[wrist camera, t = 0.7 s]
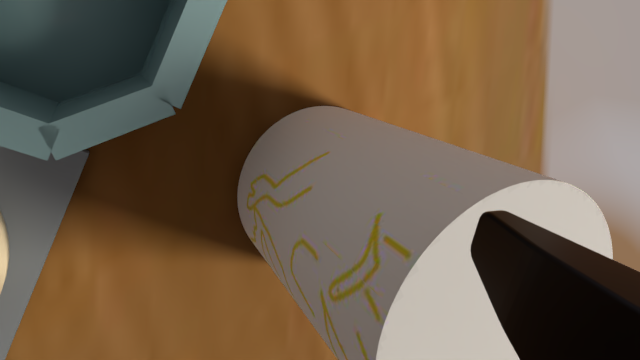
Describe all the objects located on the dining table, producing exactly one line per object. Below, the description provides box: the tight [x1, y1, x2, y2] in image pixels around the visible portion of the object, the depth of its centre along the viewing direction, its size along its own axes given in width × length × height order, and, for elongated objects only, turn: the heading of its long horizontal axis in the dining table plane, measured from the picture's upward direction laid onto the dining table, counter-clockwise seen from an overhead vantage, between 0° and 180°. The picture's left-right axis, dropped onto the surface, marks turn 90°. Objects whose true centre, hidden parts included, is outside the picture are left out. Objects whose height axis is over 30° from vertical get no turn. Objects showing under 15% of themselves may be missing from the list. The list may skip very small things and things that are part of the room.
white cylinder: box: [237, 106, 613, 360], centre depth 18 cm, size 8×8×12 cm
